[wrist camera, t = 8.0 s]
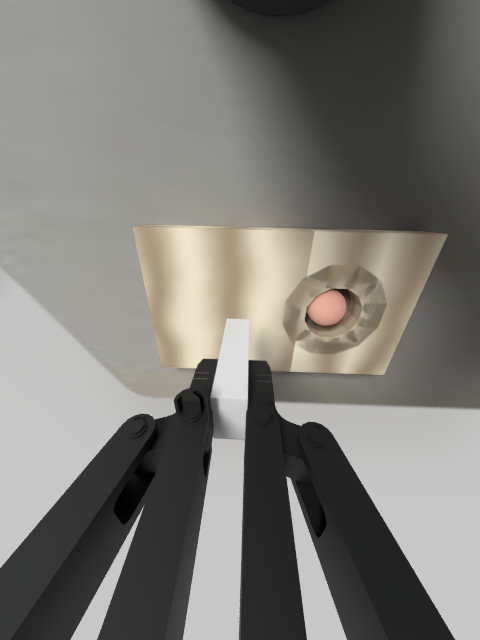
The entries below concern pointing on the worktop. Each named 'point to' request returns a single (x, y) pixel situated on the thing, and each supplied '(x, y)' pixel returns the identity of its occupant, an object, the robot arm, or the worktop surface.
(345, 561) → the robot arm
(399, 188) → the worktop surface
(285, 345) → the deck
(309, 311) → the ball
